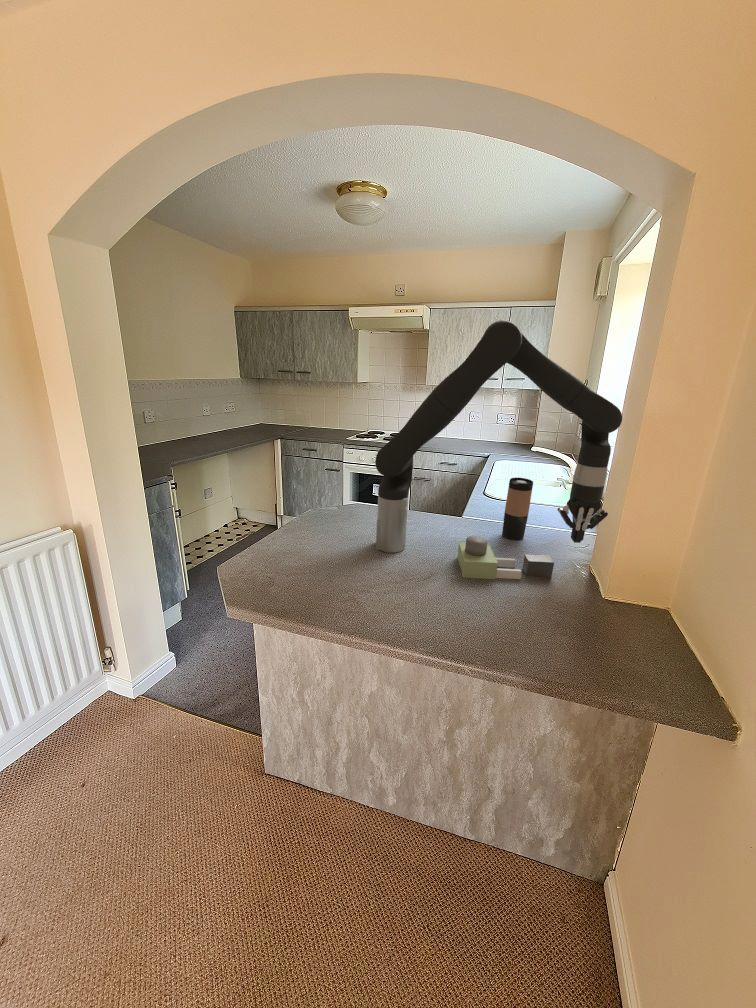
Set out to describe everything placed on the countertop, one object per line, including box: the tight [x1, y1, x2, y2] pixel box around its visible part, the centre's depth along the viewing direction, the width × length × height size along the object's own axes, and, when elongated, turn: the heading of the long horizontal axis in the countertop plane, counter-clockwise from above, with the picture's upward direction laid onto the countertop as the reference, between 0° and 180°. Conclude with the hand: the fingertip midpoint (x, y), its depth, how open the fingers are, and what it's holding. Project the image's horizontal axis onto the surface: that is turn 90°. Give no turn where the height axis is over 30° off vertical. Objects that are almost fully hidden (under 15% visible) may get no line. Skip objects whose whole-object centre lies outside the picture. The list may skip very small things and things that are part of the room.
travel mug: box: [501, 477, 534, 541], centre depth 138 cm, size 8×8×20 cm
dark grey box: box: [521, 554, 555, 579], centre depth 116 cm, size 7×4×5 cm, turn 87°
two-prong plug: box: [456, 535, 523, 580], centre depth 117 cm, size 16×12×8 cm
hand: (576, 541), depth 112 cm, fingers closed
